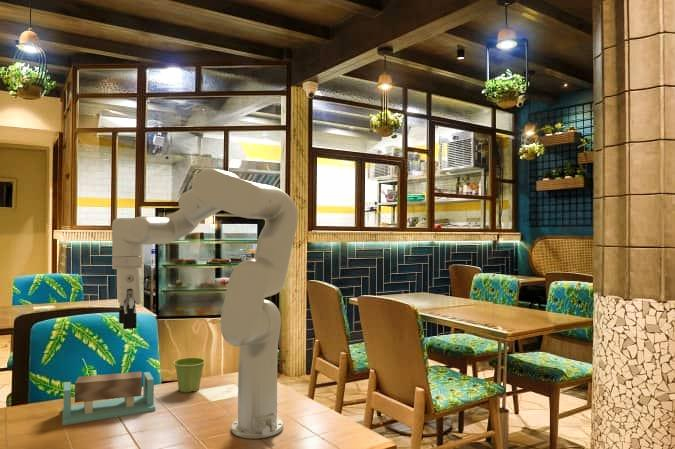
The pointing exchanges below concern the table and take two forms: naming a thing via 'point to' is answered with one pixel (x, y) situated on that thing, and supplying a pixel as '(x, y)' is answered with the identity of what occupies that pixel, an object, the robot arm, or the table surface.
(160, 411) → the table surface
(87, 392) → the brown wooden block
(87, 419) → the peg stand
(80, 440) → the table surface
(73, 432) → the table surface
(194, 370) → the plant pot
